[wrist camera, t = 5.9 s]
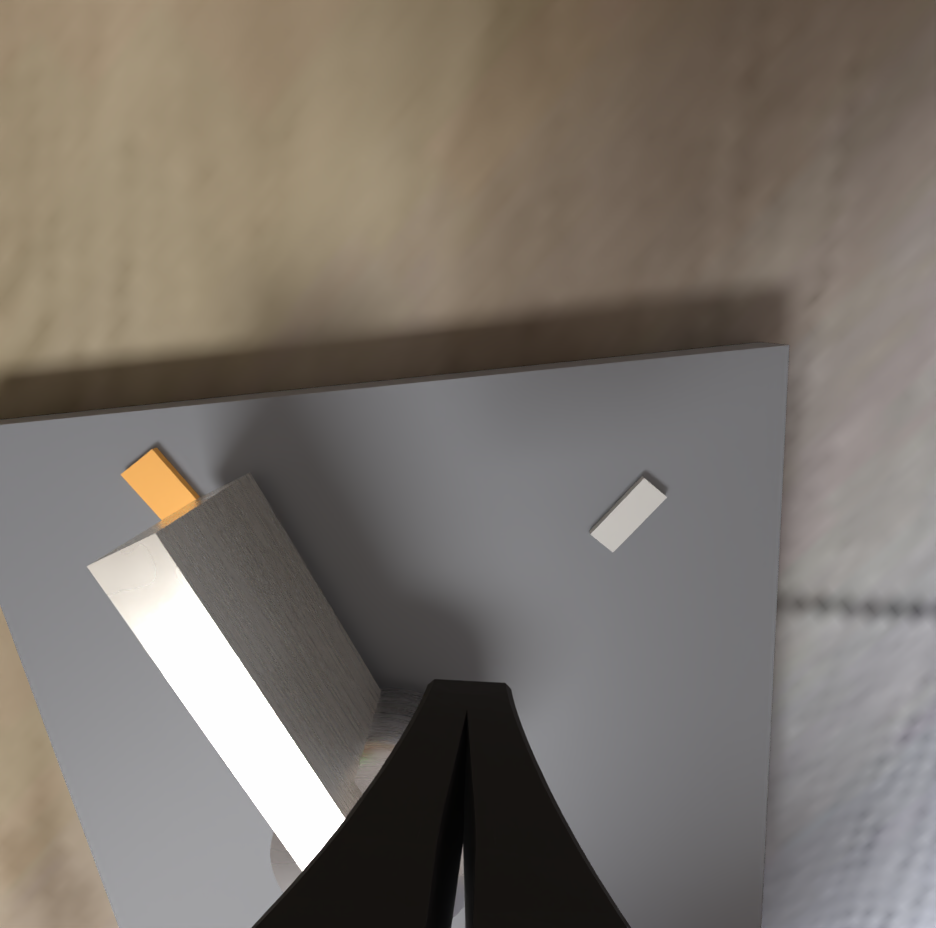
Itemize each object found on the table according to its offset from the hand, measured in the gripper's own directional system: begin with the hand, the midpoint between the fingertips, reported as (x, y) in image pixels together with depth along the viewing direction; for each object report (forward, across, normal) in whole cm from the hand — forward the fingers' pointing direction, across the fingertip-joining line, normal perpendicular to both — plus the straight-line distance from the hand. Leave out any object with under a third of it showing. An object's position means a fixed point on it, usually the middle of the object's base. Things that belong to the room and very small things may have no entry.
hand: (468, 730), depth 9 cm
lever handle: (+5, +4, +3) cm, 7 cm away
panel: (+7, +2, +6) cm, 10 cm away
